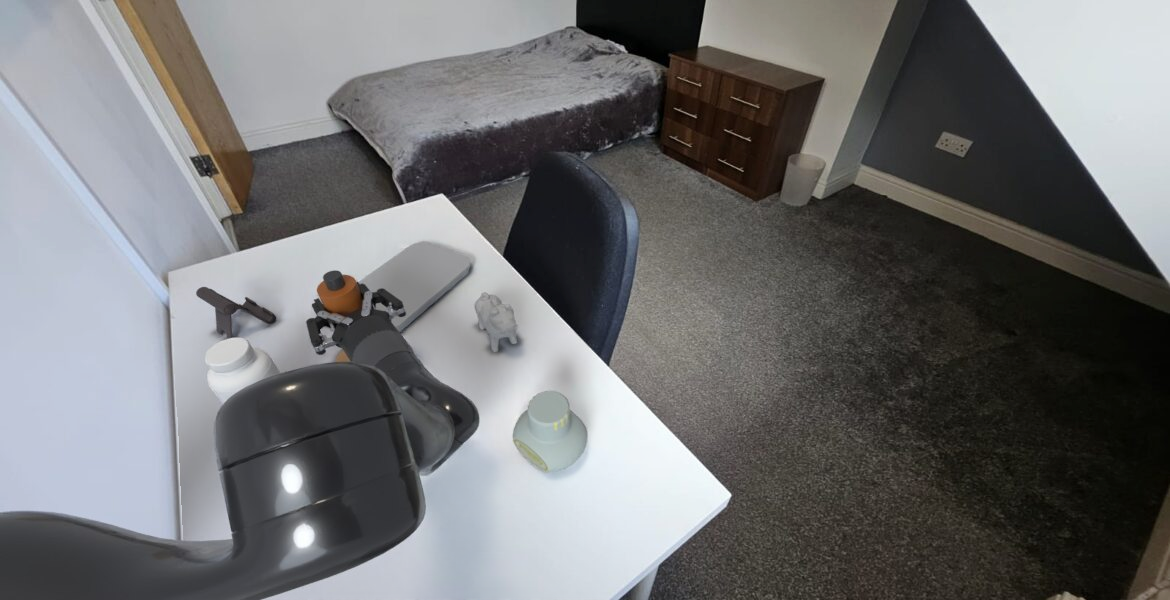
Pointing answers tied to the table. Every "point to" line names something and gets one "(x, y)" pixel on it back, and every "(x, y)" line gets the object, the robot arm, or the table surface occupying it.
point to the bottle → (339, 293)
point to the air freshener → (550, 432)
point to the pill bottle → (236, 366)
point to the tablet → (418, 278)
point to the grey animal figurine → (496, 319)
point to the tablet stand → (232, 310)
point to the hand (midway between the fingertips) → (337, 295)
